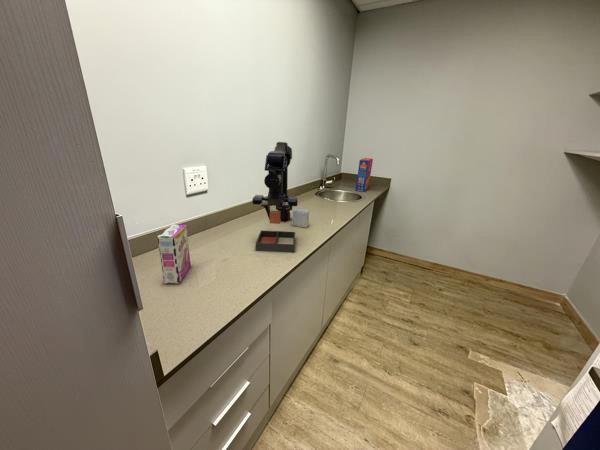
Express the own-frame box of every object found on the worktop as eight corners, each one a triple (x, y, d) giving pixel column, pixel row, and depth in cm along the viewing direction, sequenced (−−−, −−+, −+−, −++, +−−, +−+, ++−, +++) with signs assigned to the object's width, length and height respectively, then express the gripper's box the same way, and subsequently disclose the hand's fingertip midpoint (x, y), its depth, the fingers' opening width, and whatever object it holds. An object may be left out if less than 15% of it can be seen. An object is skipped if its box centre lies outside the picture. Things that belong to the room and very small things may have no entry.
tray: (255, 250, 101) (255, 243, 100) (260, 237, 115) (260, 230, 113) (294, 252, 102) (294, 244, 100) (294, 238, 115) (295, 232, 114)
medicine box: (308, 225, 132) (309, 210, 129) (306, 228, 129) (307, 212, 125) (295, 223, 135) (295, 208, 132) (292, 225, 131) (292, 210, 128)
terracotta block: (269, 223, 104) (269, 213, 102) (270, 219, 108) (270, 210, 106) (280, 223, 104) (280, 213, 102) (280, 220, 108) (281, 210, 107)
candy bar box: (180, 284, 77) (173, 237, 71) (163, 284, 76) (155, 236, 71) (192, 266, 87) (186, 223, 82) (177, 266, 87) (171, 223, 81)
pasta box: (364, 192, 222) (368, 160, 212) (355, 190, 225) (359, 160, 215) (368, 186, 246) (372, 158, 236) (360, 185, 249) (364, 158, 239)
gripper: (249, 186, 92) (250, 225, 98) (298, 189, 93) (296, 227, 98) (254, 181, 103) (255, 216, 108) (298, 183, 103) (296, 218, 109)
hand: (275, 219), depth 106 cm, fingers closed on terracotta block, 4 cm apart
